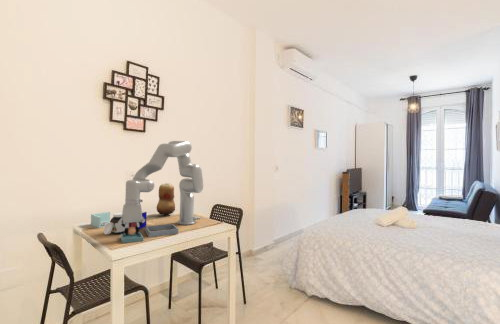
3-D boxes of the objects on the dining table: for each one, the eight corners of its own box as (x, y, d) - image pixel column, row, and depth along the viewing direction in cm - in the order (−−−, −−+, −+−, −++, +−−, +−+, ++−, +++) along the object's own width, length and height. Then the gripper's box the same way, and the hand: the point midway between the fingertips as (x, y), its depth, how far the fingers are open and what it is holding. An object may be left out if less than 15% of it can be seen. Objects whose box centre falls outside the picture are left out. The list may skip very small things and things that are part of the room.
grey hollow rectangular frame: (172, 228, 181) (172, 223, 181) (178, 233, 170) (178, 228, 170) (145, 231, 172) (145, 226, 172) (149, 237, 161) (149, 231, 161)
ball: (135, 233, 159) (135, 225, 159) (136, 235, 155) (136, 227, 155) (126, 234, 157) (126, 226, 156) (127, 236, 153) (127, 228, 152)
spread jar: (130, 231, 170) (130, 212, 170) (117, 236, 159) (118, 216, 159) (113, 229, 173) (114, 211, 173) (100, 234, 162) (100, 215, 162)
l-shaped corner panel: (99, 229, 175) (99, 217, 175) (90, 225, 182) (91, 214, 182) (118, 225, 185) (118, 214, 184) (109, 222, 192) (109, 211, 192)
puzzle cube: (137, 230, 173) (137, 214, 173) (123, 229, 175) (123, 213, 175) (146, 226, 183) (146, 211, 183) (133, 225, 185) (133, 210, 185)
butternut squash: (156, 217, 208) (157, 184, 207) (156, 213, 221) (157, 182, 220) (175, 216, 212) (176, 184, 212) (174, 213, 225) (175, 182, 224)
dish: (140, 235, 163) (140, 232, 163) (143, 240, 154) (143, 237, 154) (120, 237, 158) (120, 234, 158) (122, 243, 149) (122, 239, 149)
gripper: (147, 200, 163) (146, 231, 163) (115, 201, 154) (114, 234, 155) (149, 202, 156) (148, 234, 157) (116, 204, 148) (115, 237, 148)
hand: (131, 233), depth 156 cm, fingers closed on ball, 4 cm apart
